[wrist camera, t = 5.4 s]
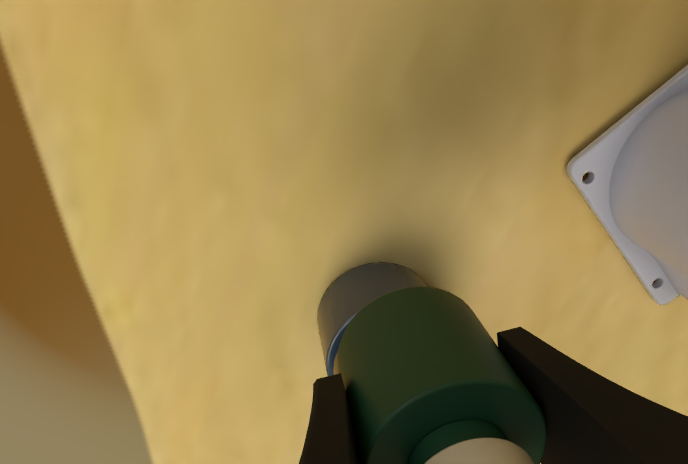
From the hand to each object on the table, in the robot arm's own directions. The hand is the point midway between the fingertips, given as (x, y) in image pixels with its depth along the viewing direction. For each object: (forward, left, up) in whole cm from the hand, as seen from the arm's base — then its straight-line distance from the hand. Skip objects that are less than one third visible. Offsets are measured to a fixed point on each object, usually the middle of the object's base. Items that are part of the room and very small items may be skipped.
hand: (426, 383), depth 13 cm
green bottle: (0, 0, -1) cm, 1 cm away
